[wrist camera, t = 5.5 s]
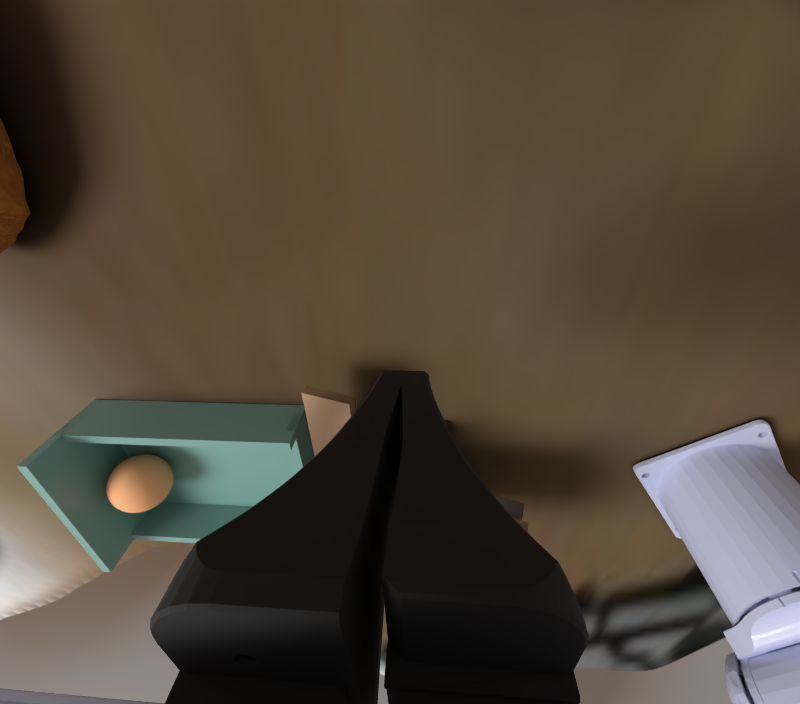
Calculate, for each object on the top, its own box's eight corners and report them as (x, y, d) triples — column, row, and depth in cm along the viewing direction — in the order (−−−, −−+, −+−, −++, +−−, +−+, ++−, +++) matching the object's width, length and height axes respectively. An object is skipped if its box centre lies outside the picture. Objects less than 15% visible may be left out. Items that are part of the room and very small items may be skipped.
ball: (192, 460, 30) (174, 504, 26) (158, 486, 31) (138, 532, 27) (143, 434, 28) (118, 478, 24) (109, 463, 29) (81, 509, 25)
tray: (305, 405, 26) (274, 477, 21) (327, 508, 32) (306, 584, 27) (95, 399, 27) (16, 466, 22) (153, 500, 33) (103, 571, 28)
